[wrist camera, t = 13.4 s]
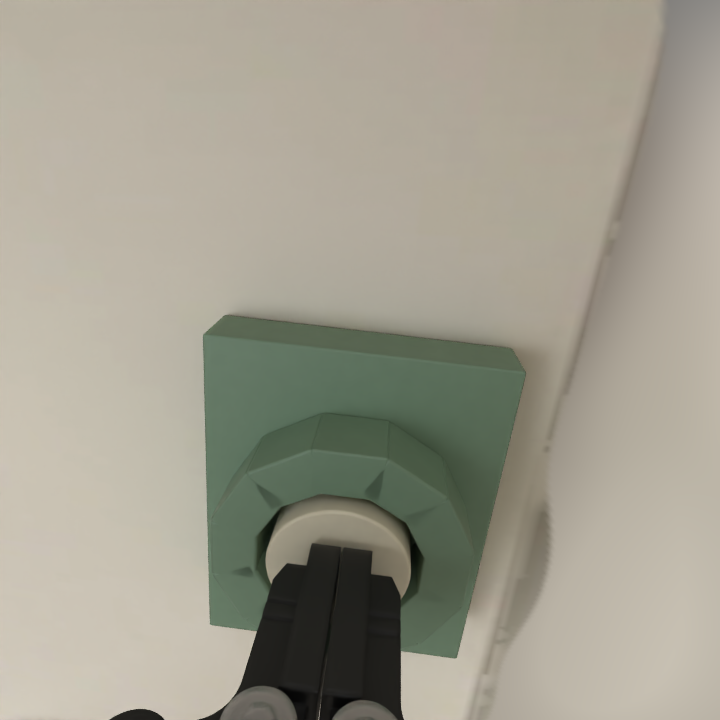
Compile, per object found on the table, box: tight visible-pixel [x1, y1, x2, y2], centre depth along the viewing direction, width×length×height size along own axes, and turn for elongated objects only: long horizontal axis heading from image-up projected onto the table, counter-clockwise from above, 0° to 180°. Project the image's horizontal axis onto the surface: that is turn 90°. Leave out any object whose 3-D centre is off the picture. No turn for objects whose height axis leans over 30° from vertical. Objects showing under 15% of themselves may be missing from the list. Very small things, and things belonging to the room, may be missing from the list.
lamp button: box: [265, 494, 411, 601], centre depth 13 cm, size 4×4×2 cm
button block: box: [203, 315, 526, 658], centre depth 14 cm, size 10×8×4 cm
